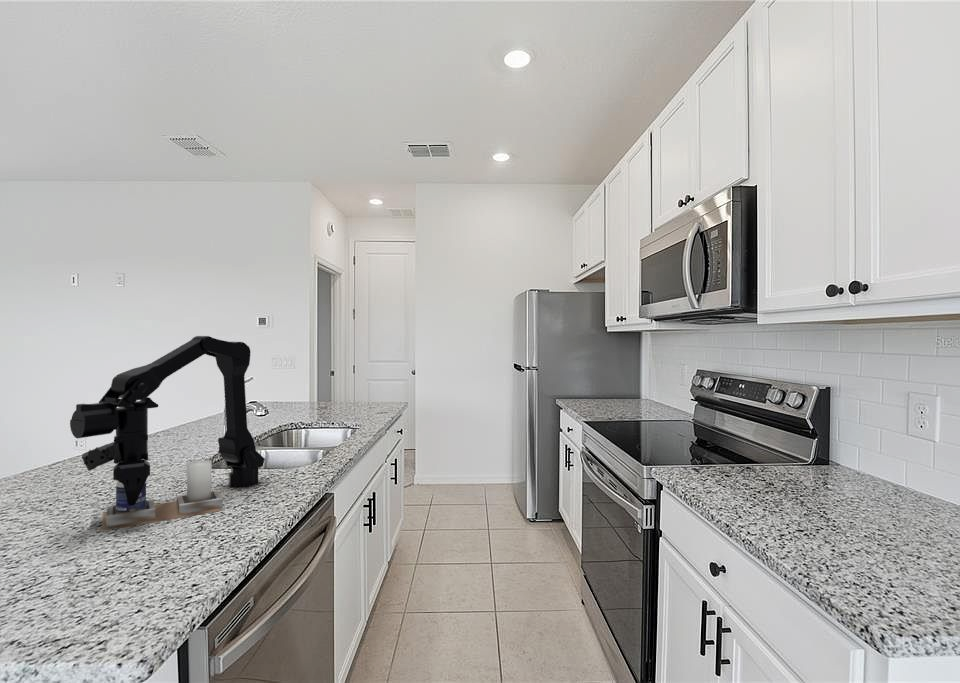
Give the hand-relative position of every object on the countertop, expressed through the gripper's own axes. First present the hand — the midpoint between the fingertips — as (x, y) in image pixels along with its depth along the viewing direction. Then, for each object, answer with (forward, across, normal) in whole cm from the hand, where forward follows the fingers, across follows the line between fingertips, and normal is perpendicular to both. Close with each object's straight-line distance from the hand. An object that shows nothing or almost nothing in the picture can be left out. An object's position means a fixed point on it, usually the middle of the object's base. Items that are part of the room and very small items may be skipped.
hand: (131, 501), depth 109 cm
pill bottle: (+3, 0, 0) cm, 3 cm away
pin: (+3, 0, +13) cm, 13 cm away
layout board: (+5, 0, +6) cm, 8 cm away
